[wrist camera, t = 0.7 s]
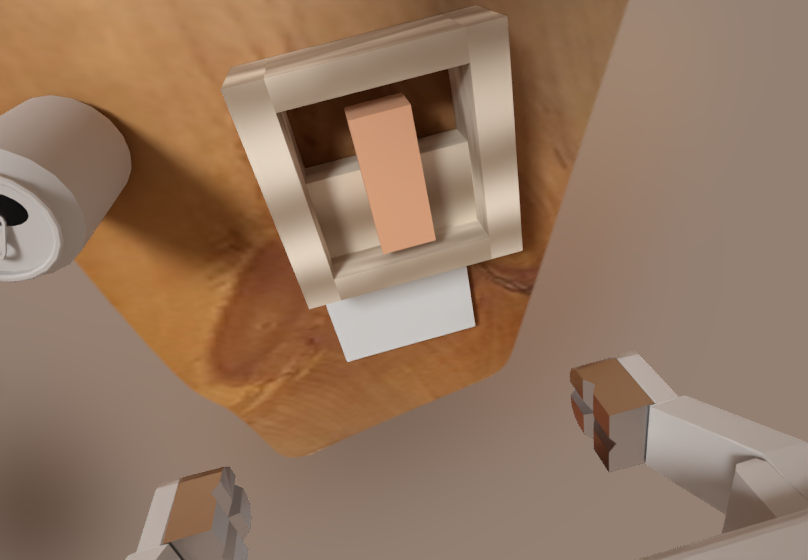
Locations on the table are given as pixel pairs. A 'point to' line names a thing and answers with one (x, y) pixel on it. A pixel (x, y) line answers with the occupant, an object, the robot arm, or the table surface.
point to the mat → (403, 314)
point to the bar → (391, 171)
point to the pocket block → (341, 179)
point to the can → (55, 182)
